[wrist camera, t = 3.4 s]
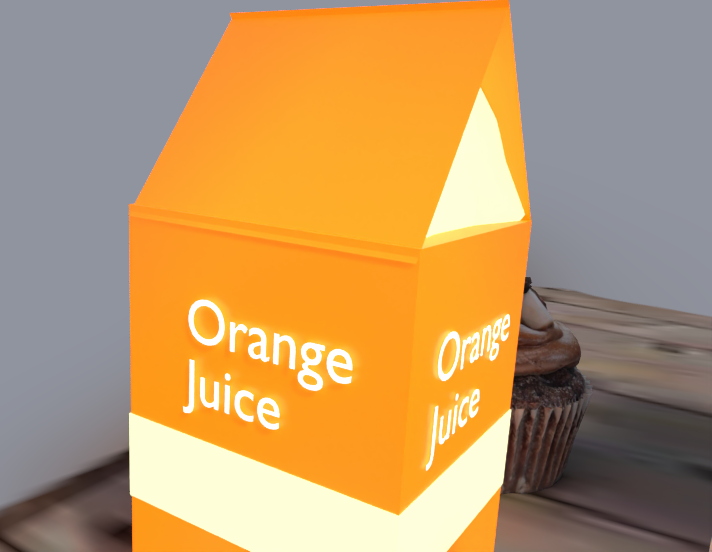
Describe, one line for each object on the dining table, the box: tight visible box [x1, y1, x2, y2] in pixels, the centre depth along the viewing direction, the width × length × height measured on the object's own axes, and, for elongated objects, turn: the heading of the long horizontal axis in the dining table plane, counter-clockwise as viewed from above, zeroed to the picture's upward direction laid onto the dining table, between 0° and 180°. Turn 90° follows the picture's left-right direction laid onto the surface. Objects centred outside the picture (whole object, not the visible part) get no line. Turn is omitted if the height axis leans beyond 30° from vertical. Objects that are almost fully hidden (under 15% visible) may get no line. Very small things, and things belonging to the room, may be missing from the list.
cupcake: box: [500, 277, 593, 494], centre depth 35 cm, size 10×10×10 cm
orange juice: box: [129, 0, 532, 552], centre depth 20 cm, size 8×9×20 cm
